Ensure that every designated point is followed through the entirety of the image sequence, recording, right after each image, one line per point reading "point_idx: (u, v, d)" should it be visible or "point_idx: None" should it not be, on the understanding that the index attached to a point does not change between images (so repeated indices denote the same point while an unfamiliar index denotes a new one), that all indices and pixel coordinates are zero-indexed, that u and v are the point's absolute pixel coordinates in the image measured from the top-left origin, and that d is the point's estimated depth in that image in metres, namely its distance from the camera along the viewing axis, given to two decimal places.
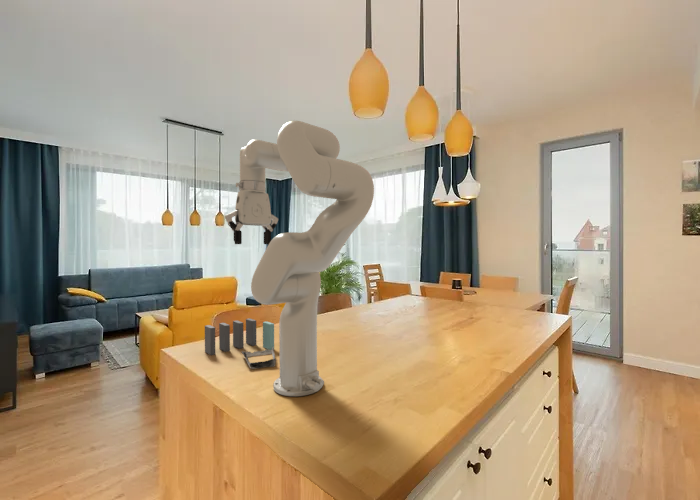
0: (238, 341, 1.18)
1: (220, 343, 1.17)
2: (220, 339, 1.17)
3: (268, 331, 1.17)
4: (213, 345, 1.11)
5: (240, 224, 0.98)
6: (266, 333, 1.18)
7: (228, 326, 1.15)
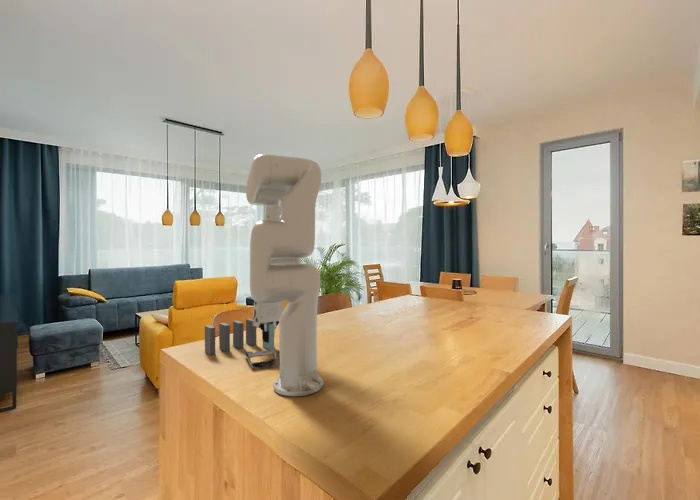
0: (238, 341, 1.18)
1: (220, 343, 1.17)
2: (220, 339, 1.17)
3: None
4: (213, 345, 1.11)
5: (265, 325, 1.16)
6: None
7: (228, 326, 1.15)
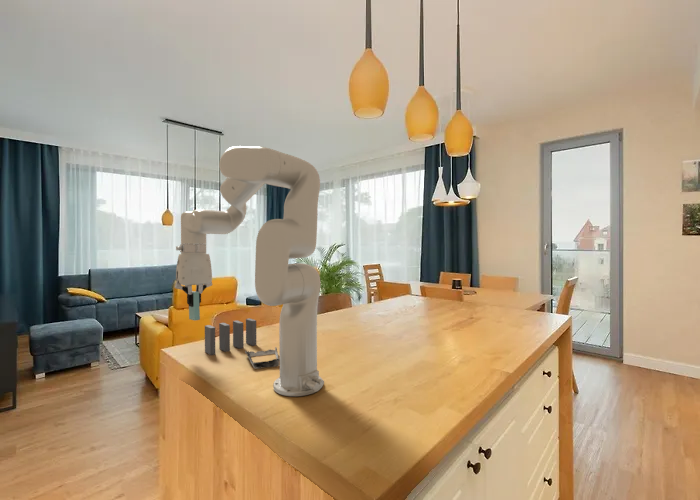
0: (238, 341, 1.18)
1: (220, 343, 1.17)
2: (220, 339, 1.17)
3: None
4: (213, 345, 1.11)
5: (189, 288, 1.07)
6: None
7: (228, 326, 1.15)
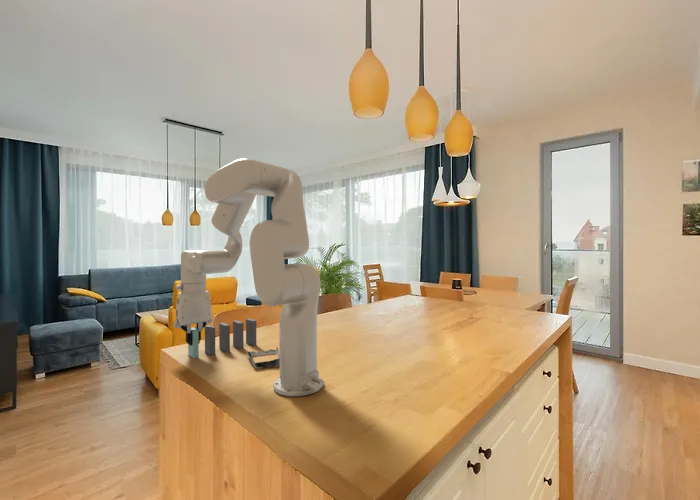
0: (238, 341, 1.18)
1: (220, 343, 1.17)
2: (220, 339, 1.17)
3: None
4: (213, 345, 1.11)
5: (188, 327, 1.07)
6: None
7: (228, 326, 1.15)
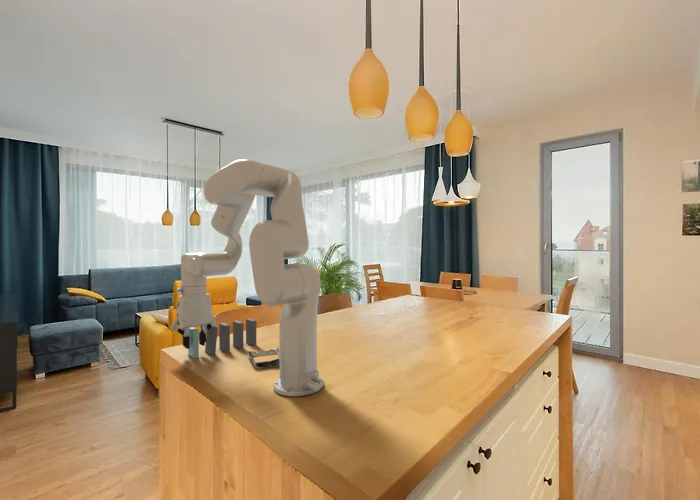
0: (238, 341, 1.18)
1: (220, 343, 1.17)
2: (220, 339, 1.17)
3: (192, 338, 1.08)
4: (214, 345, 1.11)
5: (186, 330, 1.06)
6: (190, 340, 1.09)
7: (228, 326, 1.15)
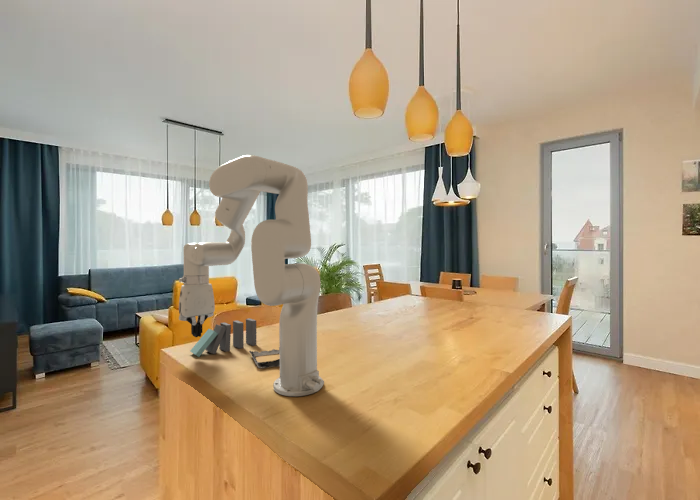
0: (238, 341, 1.18)
1: (220, 343, 1.17)
2: None
3: (207, 337, 1.12)
4: (217, 344, 1.12)
5: (193, 319, 1.08)
6: (203, 339, 1.12)
7: (229, 326, 1.15)
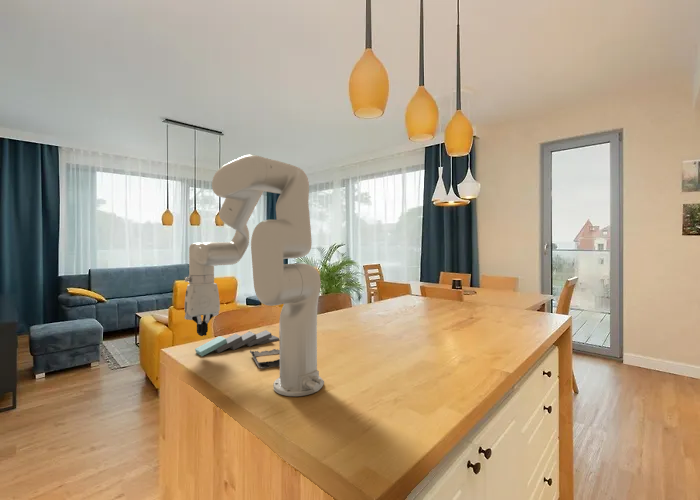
0: None
1: None
2: None
3: (216, 341, 1.14)
4: (226, 347, 1.14)
5: (198, 318, 1.09)
6: (212, 342, 1.14)
7: (255, 337, 1.21)
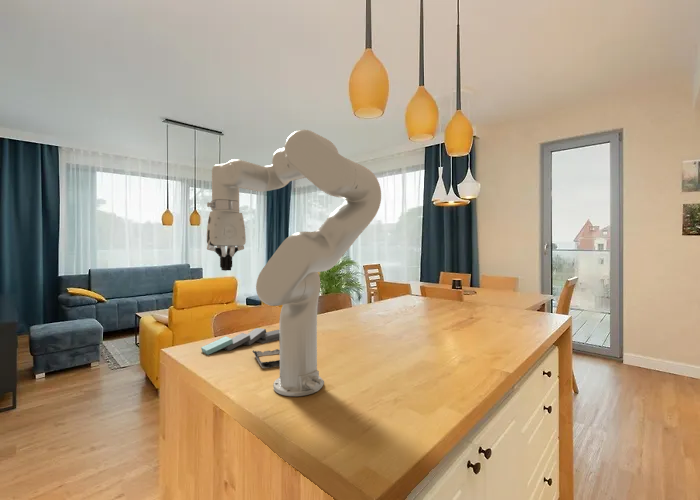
0: (270, 334, 1.27)
1: None
2: None
3: (222, 341, 1.15)
4: (236, 345, 1.17)
5: (222, 249, 0.96)
6: (218, 342, 1.16)
7: (265, 332, 1.28)
